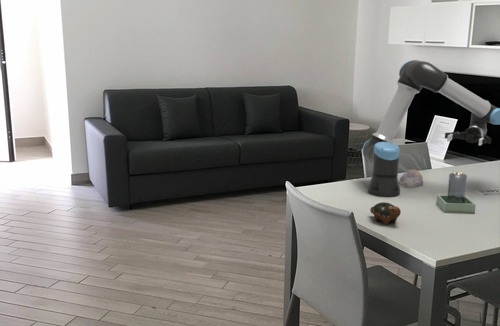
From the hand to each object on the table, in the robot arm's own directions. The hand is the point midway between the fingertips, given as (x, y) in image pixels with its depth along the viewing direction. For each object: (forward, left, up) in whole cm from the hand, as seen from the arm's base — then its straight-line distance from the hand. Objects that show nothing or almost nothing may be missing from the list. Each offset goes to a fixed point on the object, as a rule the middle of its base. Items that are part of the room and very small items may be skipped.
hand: (463, 140), depth 240 cm
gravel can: (-6, -15, -26) cm, 31 cm away
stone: (-16, +24, -28) cm, 40 cm away
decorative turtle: (-40, -35, -28) cm, 60 cm away
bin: (-6, -15, -27) cm, 32 cm away
